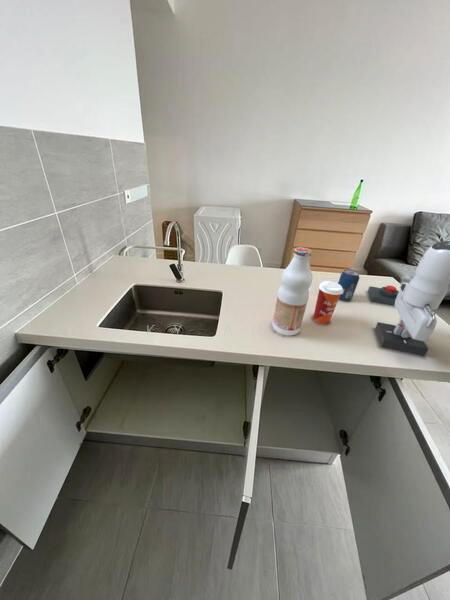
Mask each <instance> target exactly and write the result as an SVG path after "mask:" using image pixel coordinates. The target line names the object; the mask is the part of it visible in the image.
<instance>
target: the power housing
mask: <svg viewBox="0 0 450 600" xmlns="http://www.w3.org/2000/svg"><path fill="white" fill-rule="evenodd" d="M386 287H387V286H382V287H377V286H372V285H371V286H370V285H369V287H368V289H367V294H368V296H369V299H370V301H371V303H375V304H380V305H386V306H391V307H395V300H396V297H397V295H398V293H399V291H400V290H397V289H396V291H395V293H390V292H387V291H386V290H385V289H386Z"/></svg>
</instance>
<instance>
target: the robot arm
mask: <svg viewBox="0 0 450 600" xmlns="http://www.w3.org/2000/svg"><path fill="white" fill-rule="evenodd" d="M399 288H400V289H399V290H398V291H399V293H398V295H397V297H396V300H395V306H394V307H395V310H396V311H397V314H398V315H399V317H400V318H399V321H398V322H399V323H398V324H402V325H405V326H406V327H405V330H402V331H401V333H400V335H401V337H403V338H408V336H409V334H410V335H411V337H412V339H415V340H419V341H424V342H427V341H429V340H430V338H431V337H432V335H433V333H434V331H435V329H436V326H437V323H438V319H437V316H436V312H435V311H434V310H436V309H438V308H439V306H440V305H441V303H442V301H443V300H444V298H445V296H446V295H447V293H448V291H450V240H441V241H438V242H434V243H433V244H432V245H430V247H428V249H426V251H425V252H424V254H423V255H422V257H421V259H420V261H418V264H417V266H416V268H415V271H414V275H413V277H412V279H411V280H410V281H409V282H404V281H402V282H401V283H400V285H399Z"/></svg>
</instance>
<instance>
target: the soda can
mask: <svg viewBox="0 0 450 600" xmlns="http://www.w3.org/2000/svg"><path fill="white" fill-rule="evenodd" d="M359 281H360V273H359V271H356V270H355V269H354V270H353V269H347V268H346V269H344V270H343V271H342V272H341V273H340V276H339V279H338V282H337V283H338V284H339V285H341V286H342V290H343V293H342V294H341V295H340V297H339V300H338V301H342V302H349V301H351V300H352V299H353V298H354V294H355V291H356V289H357V286H358V284H359Z"/></svg>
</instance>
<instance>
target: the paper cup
mask: <svg viewBox="0 0 450 600" xmlns="http://www.w3.org/2000/svg"><path fill="white" fill-rule="evenodd" d="M318 288H319V289H318V293H317V299H316V303H315V307H314V313H313V320H314V321H315V322H316V323H319V324H324V325H326V324H329V323H330V321H331V319H332V316H333V314H334V312H335V309H336V307H337V304H338V303H339V301H340V300H339V297H340V295H341V294H342V293H343V290H342V286H341V285H339V284H338V282H335V281H330V280H325V281H322V282H320V284H319V285H318Z"/></svg>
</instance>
